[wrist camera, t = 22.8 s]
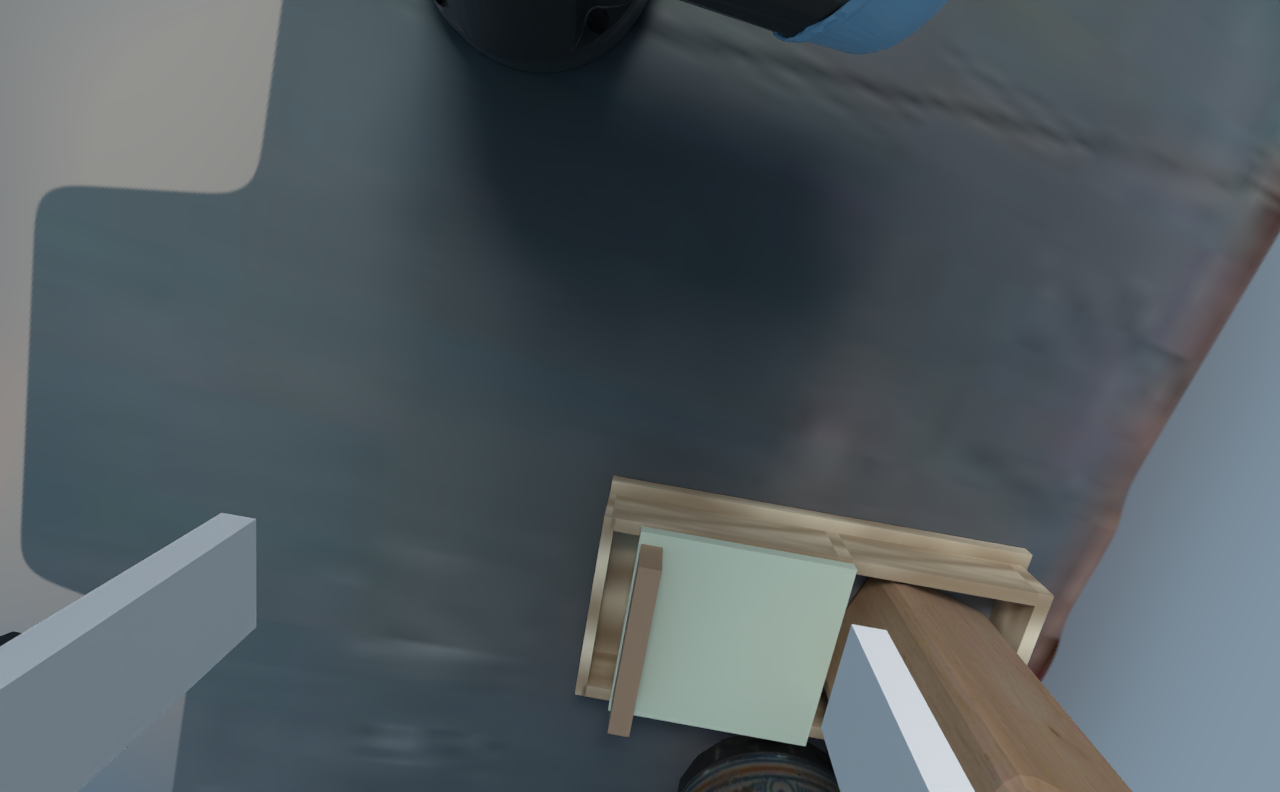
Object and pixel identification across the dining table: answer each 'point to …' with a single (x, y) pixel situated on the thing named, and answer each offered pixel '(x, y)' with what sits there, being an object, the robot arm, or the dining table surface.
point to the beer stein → (760, 768)
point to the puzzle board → (876, 550)
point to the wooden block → (979, 693)
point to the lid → (727, 636)
